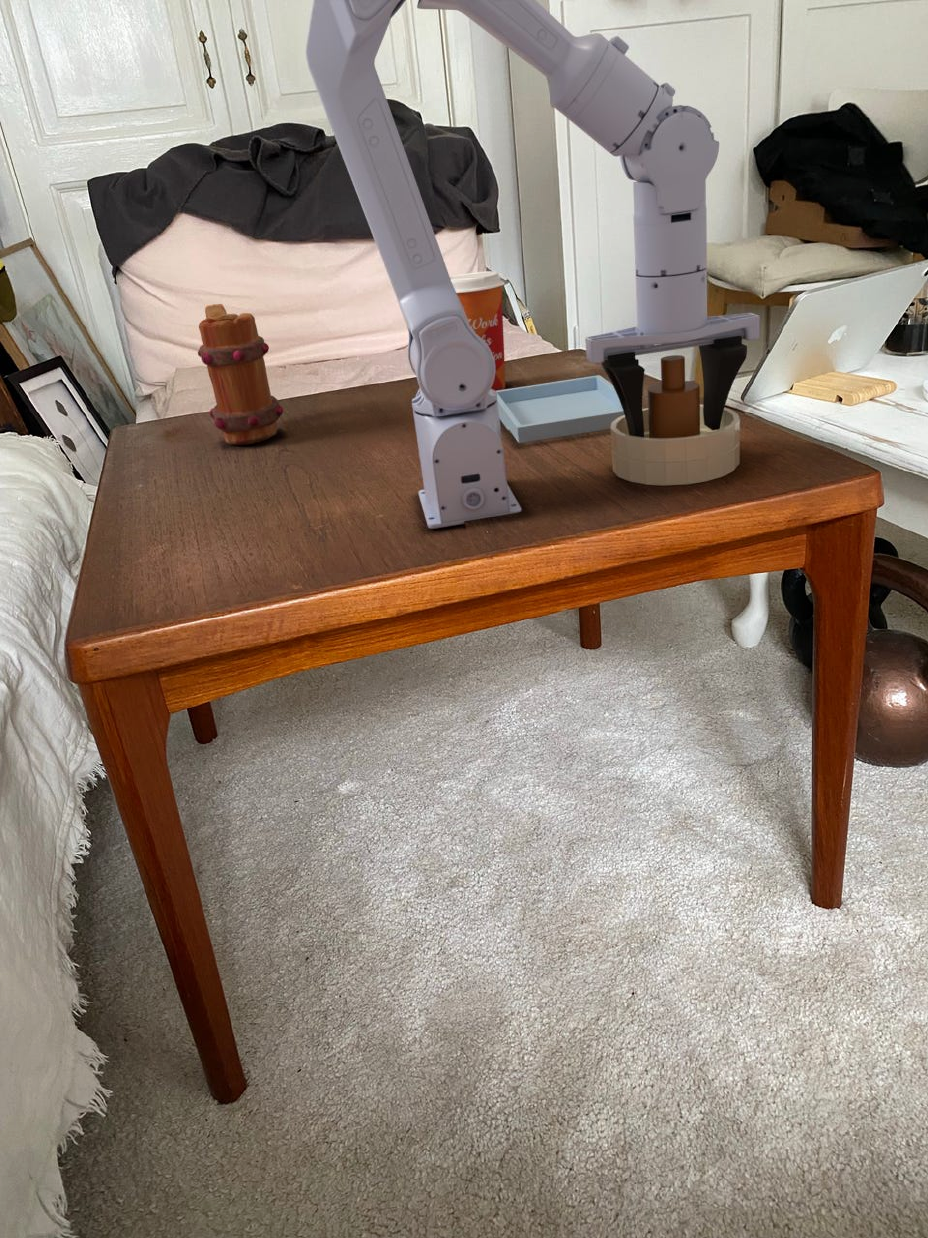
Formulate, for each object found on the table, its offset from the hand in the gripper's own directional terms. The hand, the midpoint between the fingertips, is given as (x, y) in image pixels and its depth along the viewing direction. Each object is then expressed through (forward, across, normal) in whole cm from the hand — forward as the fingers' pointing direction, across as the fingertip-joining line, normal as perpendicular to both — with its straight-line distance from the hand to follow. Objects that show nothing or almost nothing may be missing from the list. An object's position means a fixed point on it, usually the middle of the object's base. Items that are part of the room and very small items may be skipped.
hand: (674, 433), depth 84 cm
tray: (+3, +5, -23) cm, 24 cm away
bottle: (+3, 0, 0) cm, 3 cm away
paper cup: (+4, +11, -42) cm, 44 cm away
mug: (+4, +41, -37) cm, 55 cm away
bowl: (+3, 0, 0) cm, 3 cm away
